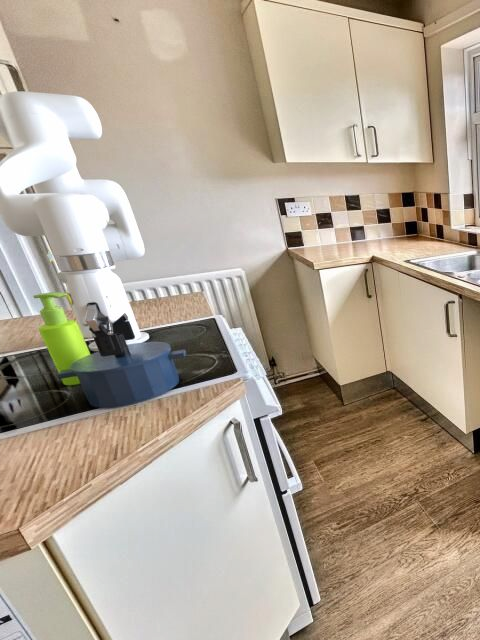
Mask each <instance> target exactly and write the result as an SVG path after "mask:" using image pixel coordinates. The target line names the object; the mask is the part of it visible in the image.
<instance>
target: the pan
mask: <svg viewBox="0 0 480 640" xmlns="http://www.w3.org/2000/svg"><path fill="white" fill-rule="evenodd" d="M186 355H187V351H186V349H179V350H174V351H171V350H170V351H169V352H168V353H167V354H166V355H164V356H162V357H160V358H158V359H156V360H153V361H151V362H148V363H145V364H142V365H139V366H135V367H132V368H128V369H123V370H119V371H113V372H107V373H100V374H76V373H73V372H72V371H71V369H67V370H62V371H61V372H60V373H58V374H57V377H58V379H59V380H62V379H63V378H69V377H75V376H77V377H78V379H79V381H80V384H79V385H80V386H81V388H82V390H83V392H84V395H85V398H86V399H87V401H88V403H89V405H90V406H92V407H94V408H98V409H99V408H100V409H101V408H102V409H109V408H118V407H124V406H130V405H134V404H138V403H141V402H144V401H149V400H151V399H154V398H156V397H158V396H161V395H163V394H165V393H167V392H169V391H171V390H172V389H174V388H175V387H176V386H177V385H179V382H180V376H179V373H178V371H177V368H176V365H175V362H174V360H177V359H182V358H185V357H186Z"/></svg>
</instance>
